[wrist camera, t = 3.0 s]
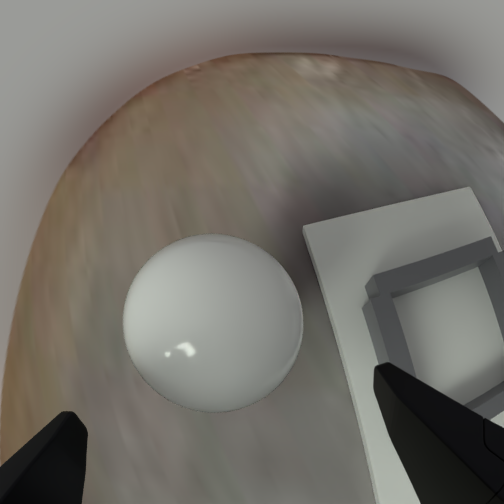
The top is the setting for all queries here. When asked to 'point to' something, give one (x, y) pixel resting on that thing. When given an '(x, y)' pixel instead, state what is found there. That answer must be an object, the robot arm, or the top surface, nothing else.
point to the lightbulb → (213, 323)
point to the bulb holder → (414, 311)
